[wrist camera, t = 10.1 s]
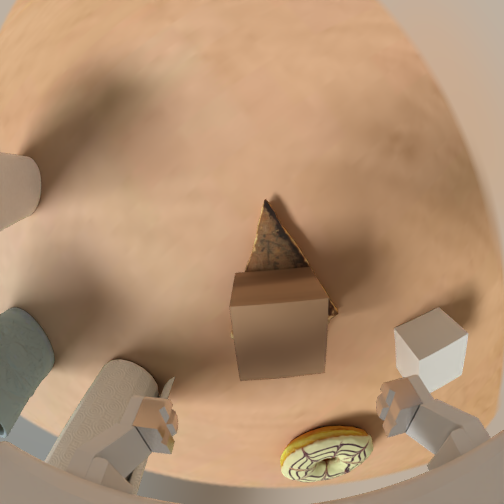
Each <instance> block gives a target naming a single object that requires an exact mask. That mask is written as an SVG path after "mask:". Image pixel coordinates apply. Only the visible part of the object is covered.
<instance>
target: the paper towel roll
mask: <svg viewBox="0 0 504 504" xmlns="http://www.w3.org/2000/svg"><path fill="white" fill-rule="evenodd" d="M174 379H175V377H173V378H171V379H169V381H168V382H167V383H166V384H165V386H164V388H163V391H162V394H161V395H159V393H158V385H157V383H156V382H155V380H154V378H153V377H152V376H151V375H150V374H149V373H148V372H147V371H146V370H145V369H144V368H142V367H140V366H139V365H137V364H135V363H133V362H130V361H126V360H122V359H118V360H111V361H110V362H108V363H107V364H106V365H104V367H103V368H102V370H101V371H100V373H99V374H98V376H97V377H96V379H95V380H94V382H93V383H92V385H91V386H90V388H89V389H88V391H87V392H86V394H85V395H84V397H83V398H82V400H81V401H80V403H79V405H78V406H77V408H76V409H75V411H74V413H73V414H72V416H71V417H70V419H69V421H68V422H67V424H66V425H65V427H64V429H63V430H62V432H61V434H60V435H59V437H58V439H57V441H56V442H55V444H54V446H53V447H52V449H51V451H50V452H49V454H48V456H47V458H46V460H45V461H44V462H46V463H48V464H50V465H52V466H54V467H56V468H58V469H61V470H63V471H66V469H67V467H68V465H69V463H70V461H71V459H72V457H73V455H74V453H75V451H76V449H77V448H79V447H80V446H82V445H84V444H85V443H87V442H88V441H90V440H91V439H93V438H95V437H96V436H98V435H99V434H101V433H102V432H104V431H106V430H107V429H109V428H110V427H112V426H113V425H115V424H116V423H118V424H120V422H121V420H122V417H123V415H124V413H125V411H126V408H127V406H128V404H129V402H130V400H131V398H132V397H133V396H134V395H138V396H147V397H154V398H163V399H168V396H169V393H170V390H171V387H172V385H173V382H174ZM158 395H159V396H158ZM147 459H148V457H147V458H146V459H145V460H144V461H143V462H142V463H141V464H139V465H138V466H137V467H136V468H135V469H134V470H133V471H132V472H131V473H130V474H129V475H128V476H126V477H125V478H124V479H125V480H126V481H127V482H128V483H129V484H130V485H131V486H132V487H133V488H134V489H133V493H132V494H133V495H137V492H138V488H139V485H140V481H141V478H142V475H143V472H144V469H145V466H146V462H147Z"/></svg>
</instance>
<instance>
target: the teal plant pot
mask: <svg viewBox="0 0 504 504" xmlns="http://www.w3.org/2000/svg"><path fill="white" fill-rule="evenodd" d="M54 360H55V359H54V352H53V349H52V346H51V344H50V341H49V339H48V338H47V336H46V334H45V332H44V331H43V329H42V328H41V327H40V325H39V324H38V323H37V322H36V321H35V319H34V318H33V317H32V316H31V315H30V314H28V313H27V312H26V311H24V310H22V309H20V308H16V307H14V308H10V309H8V310H6V311H5V312H4V313H2V314H0V437H5V438H6V437H7V436H8V434H9V433H10V431H11V429H12V427H13V426H14V424H15V422H16V421H17V419H18V417H19V415H20V413H21V411H22V410H23V408H24V406H25V405H26V403H27V402H28V400H29V398H30V397H31V396H32V395H33V394H34V392H35V390H36V389H37V387H38V386H39V384H40V382H41V381H42V380H43V379H44V378H45V377H46V376H47V375H48V373H49V372H50V371H51V369H52V367H53V364H54Z"/></svg>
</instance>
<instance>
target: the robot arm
mask: <svg viewBox="0 0 504 504" xmlns="http://www.w3.org/2000/svg"><path fill="white" fill-rule="evenodd" d="M380 390H381V392H382V393H381V394H380V395H379V396H378V398H377V401H376V409H377V414H378V416H379V418H381V419H382V420H384V423H383V425H382V426H383V428H384V431H385V433H386V436H387V437H391V436H395V435H398V434H402V433H405V432H406V434H407V435H409V436H410V437H411V438H413V439H414V440H415V441H417V442H418V443H420V444H421V445H422V446H424V447H425V448H426V449H428V450H429V451H431V452H432V453H433V454H435V455H434V457H433V458H432V459H431V460H430V462H429V463H428V465H427V466H428V469H429V471H428V472H425V473H423V474H421V475H418V476H416V477H413V478H411V479H408V480H405V481H403V482H400V483H397V484H394V485H391V486H388V487H385V488H381V489H378V490H374V491H371V492H367V493H363V494H359V495H355V496H351V497H346V498H342V499H337V500H332V501H326V502H321V503H313V504H504V430H502V431H501V432H499V433H498V434H496V435H495V436H493V437H492V438H490V436H489V434H488V433H487V431H486V430H485V428H484V426H483V425H482V423H481V422H480V420H479V419H478V418H477V417H475V416H472V415H470V414H468V413H466V412H464V411H461V410H459V409H457V408H455V407H453V406H451V405H449V404H447V403H445V402H442V401H440V400H438V399H435V400H434V399H433V397H432V396H431V394H430V393H429V391H428V389H427V388H426V386H425V385H424V383H423V382H422V380H421V379H420V377H419V376H418V375H417V374H415V375H411V376H408V377H403V378H400V379H396V380H392V381H388V382H384V383H383V384H382V385H381V388H380ZM172 406H173V404H172V402H171V400H170V399H163V398H154V397H147V396H138V395H134V396H133V397H132V398H131V400H130V402H129V404H128V406H127V408H126V411H125V413H124V415H123V417H122V420H121V422H120V424H118V423H116V424H115V425H113V426H112V427H110V428H109V429H107V430H106V431H104V432H102V433H101V434H99V435H98V436H96V437H95V438H93V439H91V440H90V441H88V442H87V443H85V444H84V445H82V446H80V447H79V448H77V449H76V451H75V453H74V455H73V457H72V459H71V461H70V463H69V465H68V467H67V469H66V471H63V470H61V469H58V468H56V467H54V466H52V465H50V464H48V463H46V462H44V461H41V460H40V459H38V458H36V457H34V456H32V455H30V454H28V453H26V452H25V451H23V450H21V449H19V448H18V447H16V446H15V445H13V444H11V443H9V442H7V441H2V442H0V504H179V503H172V502H166V501H161V500H156V499H151V498H146V497H141V496H137V495H133V494H132V493H133V489H134V488H133V487H132V486H131V485H130V484H129V483H128V482H127V481H126V480H125V479H124V478H125V477H126V476H128V475H129V474H130V473H131V472H132V471H133V470H134V469H135V468H136V467H137V466H138V465H139V464H141V463H142V462H143V461H144V460H145V459H146V458H147V457H148V456H149V455H150V454H151V453H152V452H157V453H165V454H172V450H173V446H174V442H175V441H174V439H173V437H172V436H174V435H175V434H176V433H177V429H178V417H177V414H176V412H175V411H174V410H172Z"/></svg>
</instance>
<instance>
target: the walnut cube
mask: <svg viewBox="0 0 504 504" xmlns="http://www.w3.org/2000/svg"><path fill="white" fill-rule="evenodd" d="M328 300H329V298H328V296H327V295H326V293H325V291H324V289H323V288H322V286H321V284H320V283H319V281H318V279H317V278H316V276H315V274H314V272H313V271H312V269H311V267H302V268H291V269H279V270H267V271H255V272H242V273H235V279H234V284H233V290H232V295H231V301H230V306H229V307H230V315H231V322H232V329H233V336H234V343H235V350H236V357H237V364H238V370H239V377H240V381H244V380H261V379H275V378H286V377H295V376H304V375H312V374H320V373H325V362H326V347H327V328H328Z"/></svg>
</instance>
